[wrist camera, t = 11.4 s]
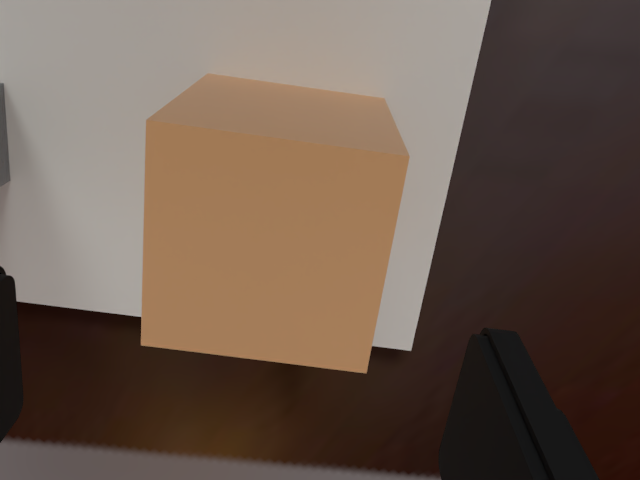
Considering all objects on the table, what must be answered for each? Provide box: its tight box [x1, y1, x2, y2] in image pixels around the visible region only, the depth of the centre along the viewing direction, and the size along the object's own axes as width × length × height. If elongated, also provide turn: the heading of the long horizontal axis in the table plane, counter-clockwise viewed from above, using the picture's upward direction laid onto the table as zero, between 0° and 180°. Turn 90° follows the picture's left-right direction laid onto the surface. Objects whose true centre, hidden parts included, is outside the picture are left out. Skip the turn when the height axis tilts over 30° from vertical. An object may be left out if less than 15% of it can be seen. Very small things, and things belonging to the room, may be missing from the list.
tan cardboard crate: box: [141, 73, 410, 373], centre depth 19 cm, size 6×6×8 cm
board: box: [0, 0, 491, 351], centre depth 23 cm, size 14×24×2 cm, turn 82°
